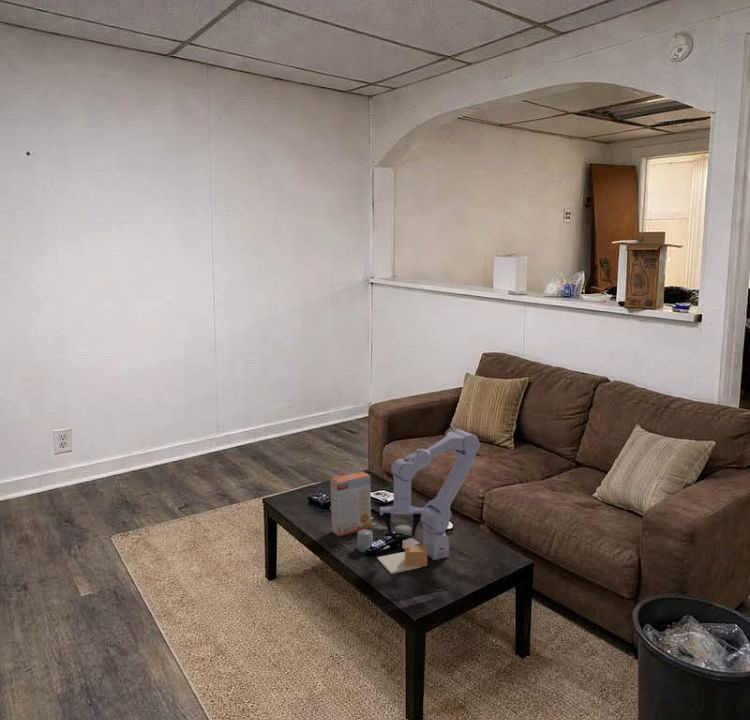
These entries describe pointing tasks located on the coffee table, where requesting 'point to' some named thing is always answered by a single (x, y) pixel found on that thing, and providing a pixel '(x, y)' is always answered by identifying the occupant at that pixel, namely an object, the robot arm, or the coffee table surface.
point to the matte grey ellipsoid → (403, 529)
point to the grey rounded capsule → (364, 539)
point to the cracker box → (350, 503)
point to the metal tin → (409, 542)
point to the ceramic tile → (395, 563)
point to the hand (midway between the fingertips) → (401, 534)
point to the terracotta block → (415, 555)
